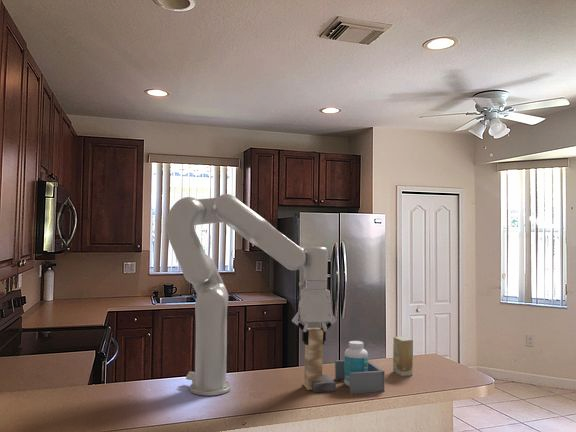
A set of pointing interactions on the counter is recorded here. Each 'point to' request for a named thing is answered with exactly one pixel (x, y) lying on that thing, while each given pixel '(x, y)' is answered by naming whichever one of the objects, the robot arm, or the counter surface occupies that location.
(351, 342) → the pill bottle
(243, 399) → the counter surface
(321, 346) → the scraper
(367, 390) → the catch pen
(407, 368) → the skincare box
